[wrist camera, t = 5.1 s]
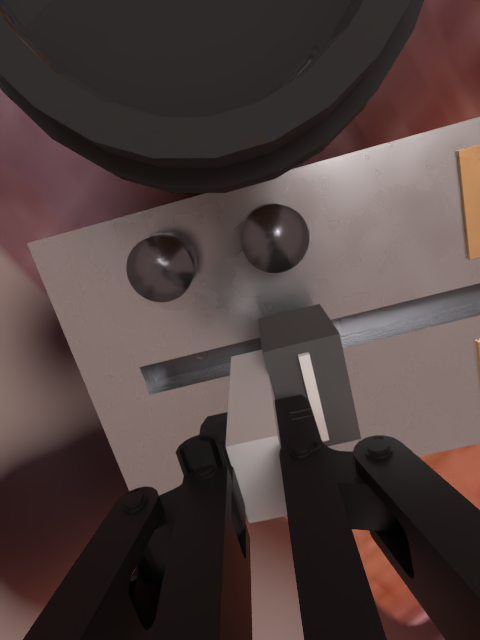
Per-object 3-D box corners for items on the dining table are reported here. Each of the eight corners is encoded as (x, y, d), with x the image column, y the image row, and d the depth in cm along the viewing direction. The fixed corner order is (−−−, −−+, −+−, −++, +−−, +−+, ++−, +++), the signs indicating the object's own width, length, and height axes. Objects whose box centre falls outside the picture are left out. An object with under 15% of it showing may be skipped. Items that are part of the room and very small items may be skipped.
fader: (256, 301, 22) (262, 354, 15) (309, 288, 21) (340, 335, 15) (276, 377, 23) (290, 458, 16) (326, 365, 23) (362, 442, 16)
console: (50, 237, 22) (3, 249, 17) (612, 80, 19) (718, 49, 15) (149, 486, 26) (131, 545, 22) (612, 384, 24) (693, 426, 20)
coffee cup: (346, 116, 20) (612, -70, 6) (209, 225, 21) (143, 299, 7) (239, -53, 18) (227, -1003, 4) (97, 80, 20) (-303, -218, 5)
